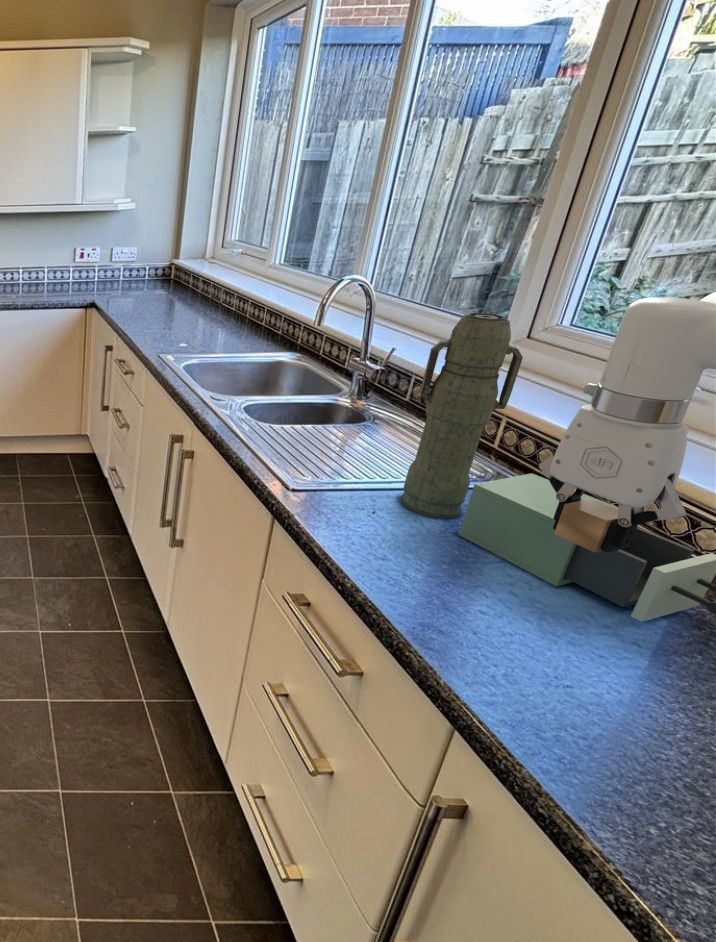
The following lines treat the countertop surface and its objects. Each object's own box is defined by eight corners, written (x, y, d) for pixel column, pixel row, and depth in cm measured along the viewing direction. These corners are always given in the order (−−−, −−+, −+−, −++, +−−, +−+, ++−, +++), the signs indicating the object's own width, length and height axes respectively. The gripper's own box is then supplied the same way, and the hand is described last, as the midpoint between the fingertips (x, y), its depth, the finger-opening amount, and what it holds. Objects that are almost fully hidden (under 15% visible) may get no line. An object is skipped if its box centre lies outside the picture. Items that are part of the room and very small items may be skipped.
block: (620, 546, 77) (632, 514, 76) (594, 552, 76) (607, 521, 75) (578, 528, 81) (589, 498, 80) (553, 534, 80) (564, 503, 79)
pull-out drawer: (749, 629, 80) (777, 579, 77) (690, 647, 77) (717, 596, 74) (584, 552, 96) (602, 508, 93) (530, 564, 94) (547, 520, 91)
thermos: (385, 489, 118) (434, 308, 105) (460, 500, 114) (520, 312, 101) (396, 511, 110) (449, 319, 97) (476, 524, 106) (543, 324, 93)
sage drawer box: (616, 571, 93) (641, 516, 90) (556, 586, 90) (579, 530, 86) (513, 522, 106) (531, 473, 103) (457, 534, 103) (474, 483, 100)
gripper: (535, 387, 79) (495, 512, 86) (715, 435, 64) (650, 582, 70) (577, 381, 81) (535, 503, 87) (762, 426, 65) (694, 570, 72)
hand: (587, 537), depth 79 cm, fingers closed on block, 4 cm apart
